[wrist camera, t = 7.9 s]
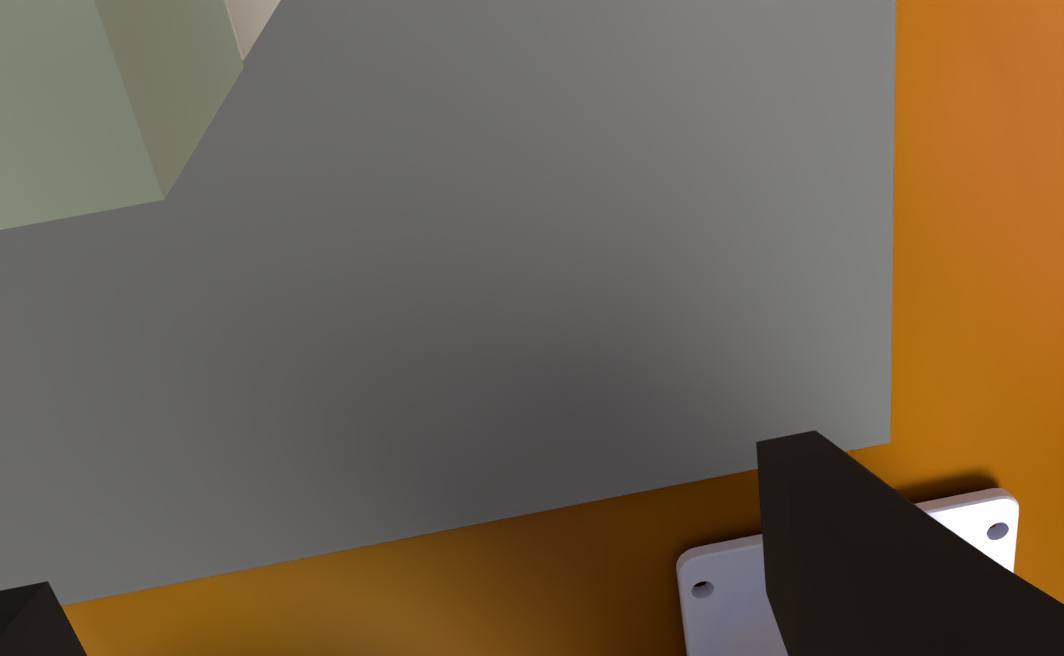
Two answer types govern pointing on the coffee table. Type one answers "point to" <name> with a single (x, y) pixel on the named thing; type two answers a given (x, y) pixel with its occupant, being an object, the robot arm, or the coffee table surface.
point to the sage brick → (105, 100)
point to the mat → (456, 284)
